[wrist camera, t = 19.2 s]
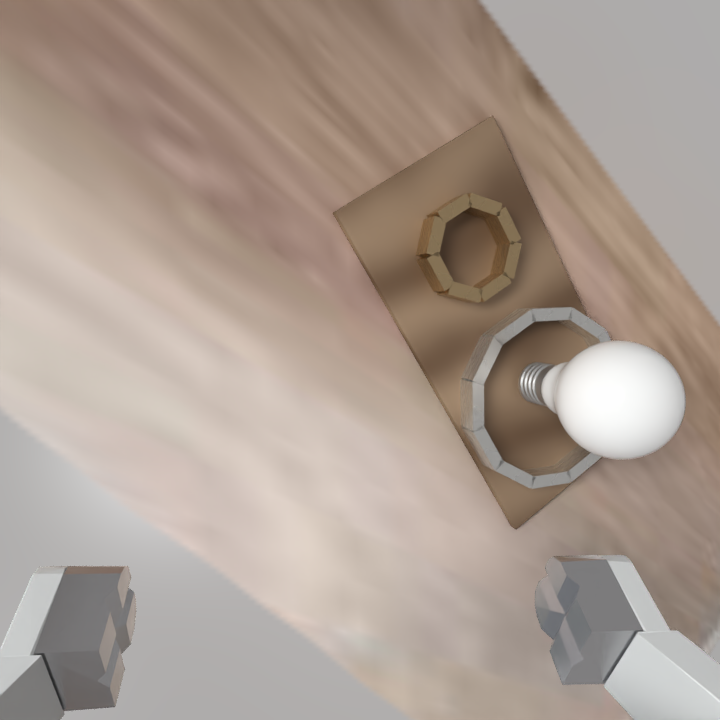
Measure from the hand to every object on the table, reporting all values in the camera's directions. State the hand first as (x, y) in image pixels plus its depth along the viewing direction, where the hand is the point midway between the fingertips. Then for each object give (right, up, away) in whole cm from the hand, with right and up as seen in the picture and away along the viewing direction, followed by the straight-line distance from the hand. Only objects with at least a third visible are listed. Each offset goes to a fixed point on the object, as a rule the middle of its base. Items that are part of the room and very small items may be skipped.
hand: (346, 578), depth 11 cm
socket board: (+9, +6, +27) cm, 29 cm away
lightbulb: (+11, +3, +27) cm, 30 cm away
